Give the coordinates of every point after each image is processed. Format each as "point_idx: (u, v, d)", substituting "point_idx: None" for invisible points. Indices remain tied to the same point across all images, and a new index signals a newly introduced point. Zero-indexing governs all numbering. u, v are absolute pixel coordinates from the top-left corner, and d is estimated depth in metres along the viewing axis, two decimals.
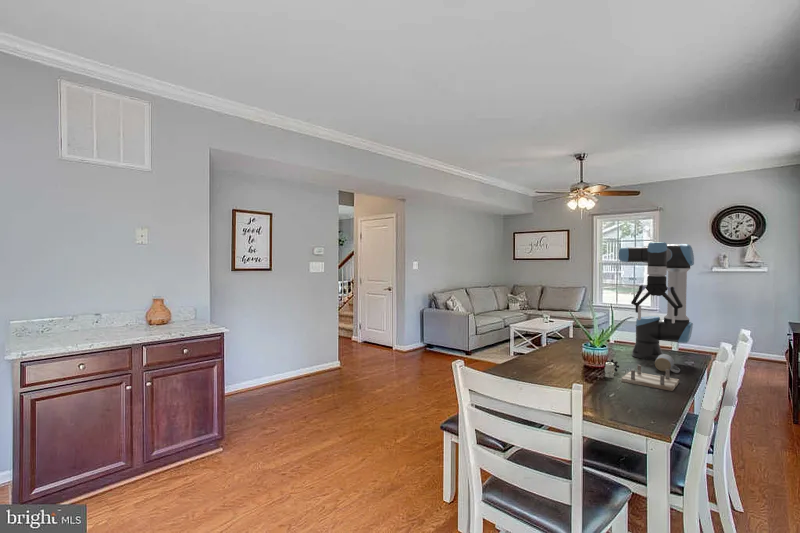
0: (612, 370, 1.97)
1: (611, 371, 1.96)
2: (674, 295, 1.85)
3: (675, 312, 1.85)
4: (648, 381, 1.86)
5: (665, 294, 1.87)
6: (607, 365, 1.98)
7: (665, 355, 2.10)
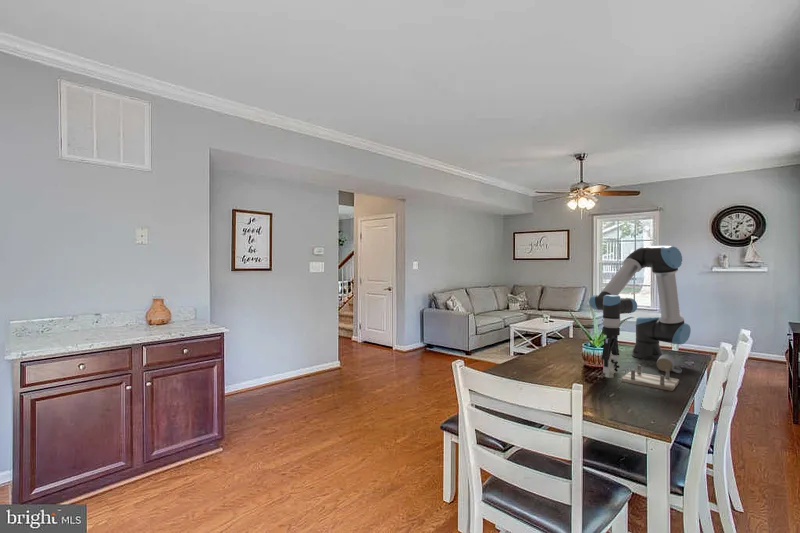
0: (612, 370, 1.96)
1: (611, 371, 1.96)
2: None
3: None
4: (648, 381, 1.86)
5: None
6: None
7: (667, 355, 2.09)
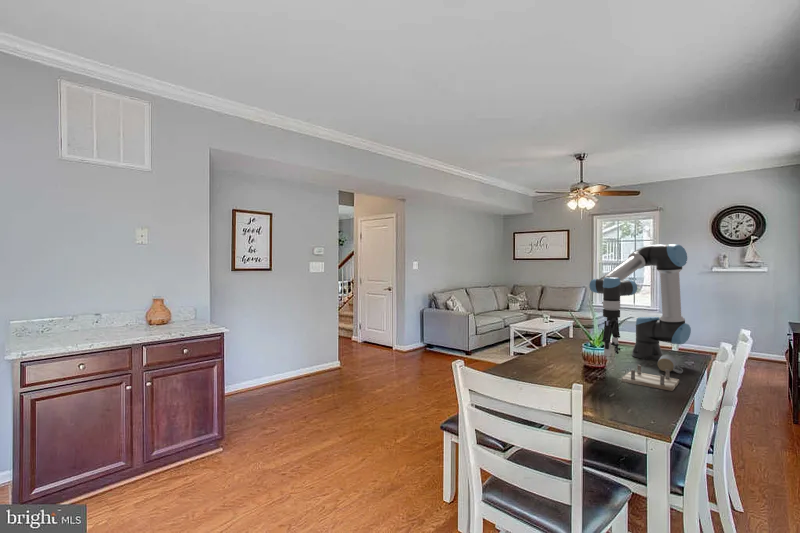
0: (613, 352, 1.96)
1: (612, 353, 1.96)
2: None
3: None
4: (648, 381, 1.86)
5: None
6: None
7: (668, 355, 2.09)
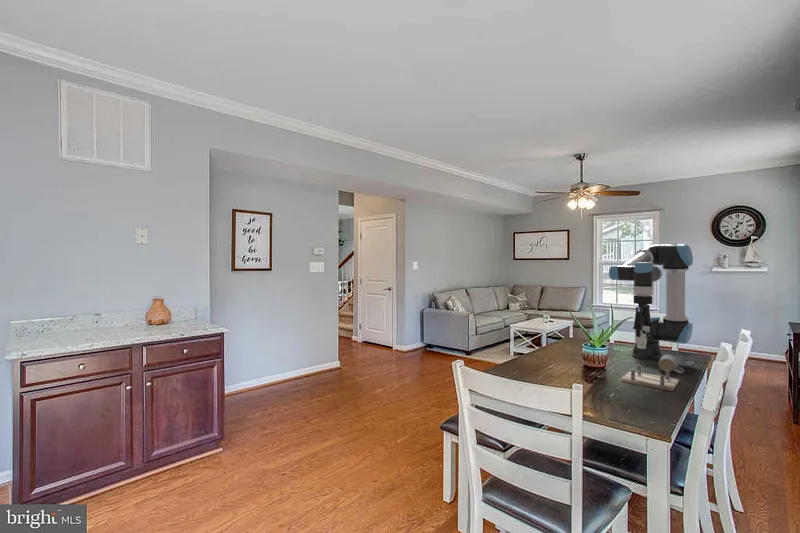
0: (645, 340, 1.87)
1: (643, 341, 1.86)
2: None
3: None
4: (648, 381, 1.86)
5: None
6: None
7: (669, 356, 2.09)
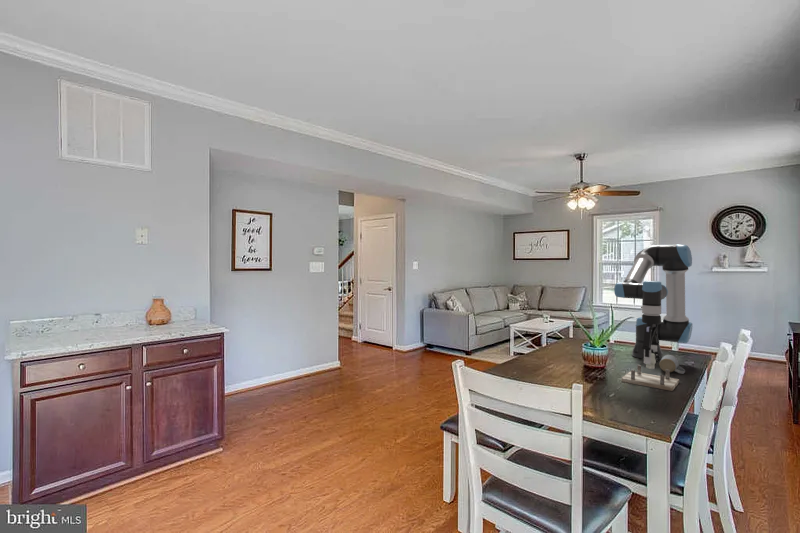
0: (654, 361, 1.84)
1: (652, 362, 1.84)
2: None
3: None
4: (648, 381, 1.86)
5: None
6: None
7: (670, 356, 2.09)
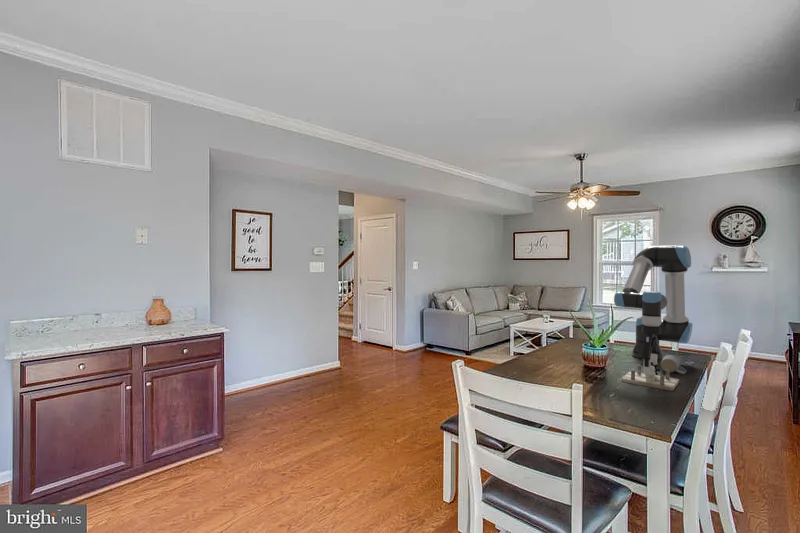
0: (653, 374, 1.85)
1: (652, 375, 1.85)
2: None
3: None
4: None
5: None
6: None
7: (671, 356, 2.08)
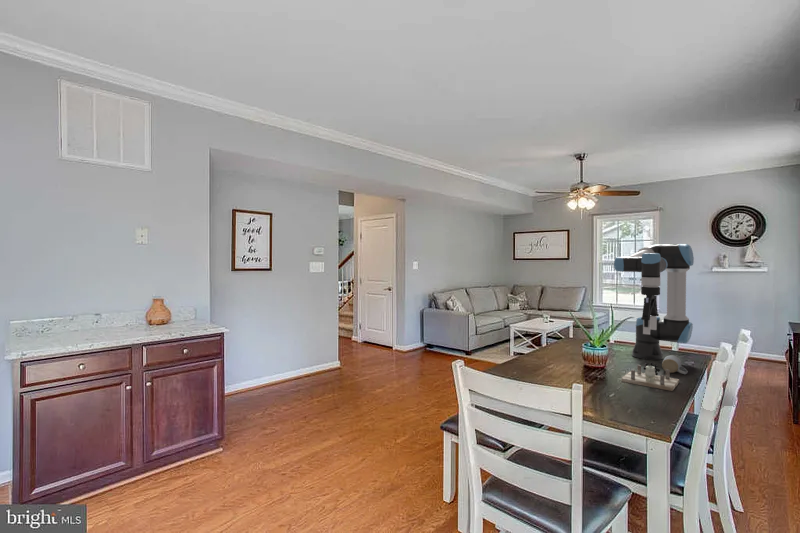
0: (653, 374, 1.84)
1: (652, 375, 1.84)
2: None
3: None
4: None
5: None
6: (648, 369, 1.85)
7: (672, 356, 2.08)
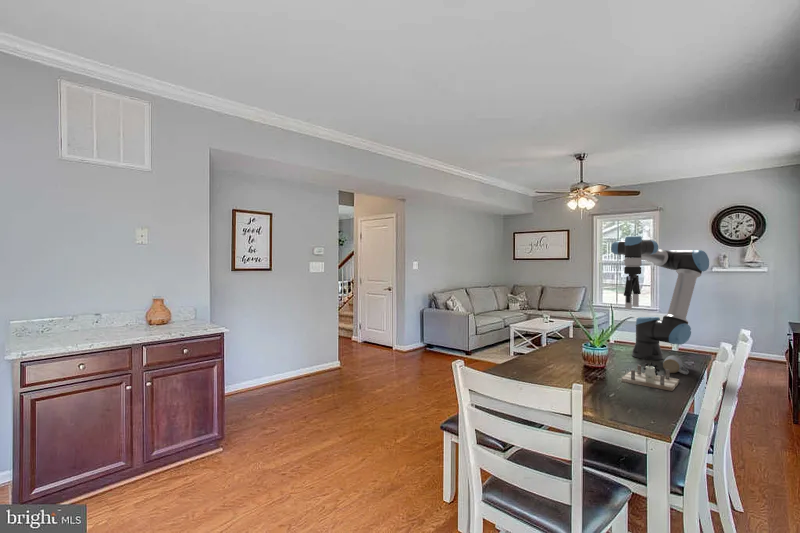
0: (653, 374, 1.84)
1: (652, 375, 1.84)
2: None
3: None
4: None
5: None
6: (648, 369, 1.85)
7: (673, 356, 2.07)
